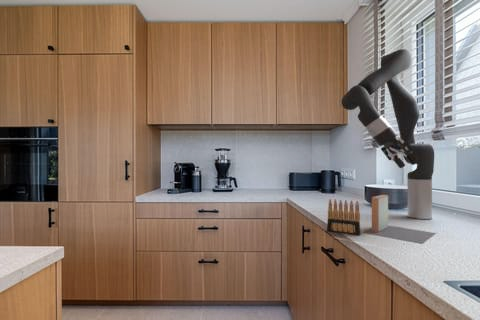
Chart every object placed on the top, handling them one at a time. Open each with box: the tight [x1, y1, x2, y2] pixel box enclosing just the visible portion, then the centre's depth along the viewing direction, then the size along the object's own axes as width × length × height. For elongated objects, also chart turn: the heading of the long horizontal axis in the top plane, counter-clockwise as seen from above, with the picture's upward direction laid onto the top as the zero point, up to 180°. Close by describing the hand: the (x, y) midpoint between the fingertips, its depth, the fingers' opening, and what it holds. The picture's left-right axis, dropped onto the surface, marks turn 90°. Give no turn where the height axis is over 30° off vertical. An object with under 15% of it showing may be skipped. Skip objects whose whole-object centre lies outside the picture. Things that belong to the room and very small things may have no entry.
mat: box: [360, 225, 437, 245], centre depth 94 cm, size 18×18×1 cm
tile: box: [371, 194, 389, 232], centre depth 98 cm, size 10×2×12 cm, turn 133°
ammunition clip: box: [326, 198, 361, 236], centre depth 94 cm, size 11×2×12 cm, turn 60°
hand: (408, 165), depth 102 cm, fingers open, 8 cm apart
